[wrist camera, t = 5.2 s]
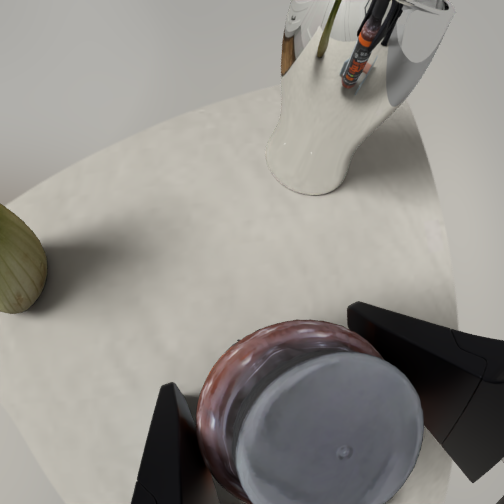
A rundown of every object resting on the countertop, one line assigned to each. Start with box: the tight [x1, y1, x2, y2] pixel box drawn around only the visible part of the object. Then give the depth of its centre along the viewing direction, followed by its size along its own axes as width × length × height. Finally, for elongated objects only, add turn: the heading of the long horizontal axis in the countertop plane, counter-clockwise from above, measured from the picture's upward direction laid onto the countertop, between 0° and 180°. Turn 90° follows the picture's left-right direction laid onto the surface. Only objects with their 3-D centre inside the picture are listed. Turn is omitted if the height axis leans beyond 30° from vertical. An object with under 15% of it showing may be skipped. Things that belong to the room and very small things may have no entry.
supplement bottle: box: [196, 320, 424, 504], centre depth 10 cm, size 6×6×11 cm
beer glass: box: [265, 0, 456, 195], centre depth 15 cm, size 7×7×15 cm
